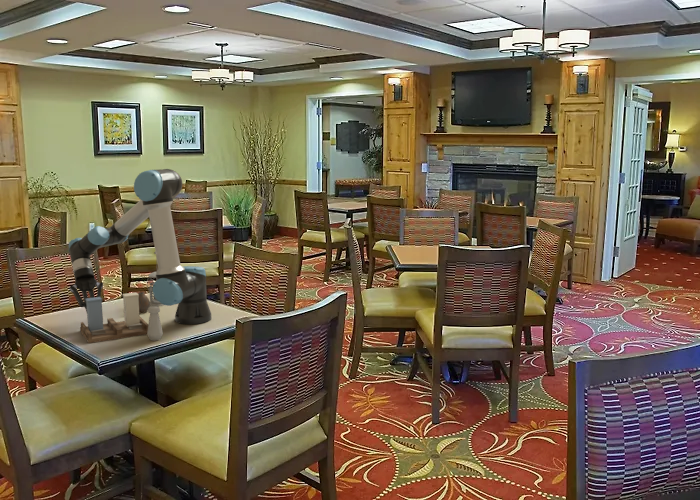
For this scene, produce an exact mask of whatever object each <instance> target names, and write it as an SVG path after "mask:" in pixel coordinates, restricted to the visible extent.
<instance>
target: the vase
mask: <svg viewBox="0 0 700 500" xmlns="http://www.w3.org/2000/svg"><path fill="white" fill-rule="evenodd" d="M137 294H139V297H138V299H139V314H143V313H147V312H148V308H149V307H150V298H149V297H148V296H147V295H146V294H145V292H143V291H140V292H137Z"/></svg>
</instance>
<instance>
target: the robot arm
mask: <svg viewBox="0 0 700 500" xmlns="http://www.w3.org/2000/svg"><path fill="white" fill-rule="evenodd" d="M182 188H183V180H182V176H181V175H180V174H179V173H178V172H177V171H176V170H173V169H170V168H164V169H162V168H161V169H149V170H144V171H142V172H140V173H139V174H137V176H136V178H135V179H134V183H133V192H134V194H135V195H136V197H137V198H138V199H139V201H137V202H136V203H135V204H134V205H133V206H132V207H131V208H130V209H128V211H127V212H125V213H124V214H123V215H122V216H121V217H120V218H119V219H117V220H116V221H115V222H114V223H113V224H112V225H111V226H110V227H106V228H105V227H104V226H101V225H97V226H94V227H93V228H92V229H90V230H88V232H87V233H86V234H85V235H84V236H83V237H76V238H74V239H71V240H70V241H69V242H68V253H69V256H70V262H71V265H72V270H73V271H72V272H73V276H74V284H73V285H70V287H69V292H71V293H72V294H73V295H74V298H75V300H76V301H77V303H78V305H79V307H80V308H84V309H85V312H86V313H87V305H86V300H85V299H86V298H94V297H95V294H94V289H95V287H96V288H97V293H96V295H97V296H96V297H101V296H102V289H103V287H104V283H103V282H98V280H97V279H96V278H95V277H96V276H95V273H94V267H93V265H92V264H93V263H92V259H91V255H93V254H94V253H95V252H96V251H98V249H101V248H105V247H109V246H113V245H117V244H118V245H119V244H122V243H124V242H126V241H127V240H128V239H129V236H130V234H131V233H132V232H133V231H134V230H136V229H137V228H138V227H139V226H140V225H141V224H142V223H143V222H145V221H146V220H147V219H148V218H149V223H150V228H151V233H152V239H153V244H154V245H153V246H154V250H155V251H156V254H155V256H156V257H157V262H156V263H157V270H156V271H157V272H156V271H155V272H156V280H155V281H154V282H155V283H154V285H153V286H152V288H153V292H152V293H153V294H154V295H153V294H152V295H153V296H154V297H155V298H156V299H157V301H159V302H160V303H161V304H163V306H167V307H168V306H174V305H177V307H176V311H175V315H174V321H175V322H176V323H178V324H183V325H199V324H205V323H207V322H210V320H212V311H211V308H210V307H209V304H208V299H207V298H208V297H207V273H206V269H205V268H204V267H202V266H189V265H187V266H183V265H181V260H180V255H179V249H178V244H177V238H176V231H175V228H174V221H173V216H172V210H171V205H172V204H173V203H174V199H175V198H176V197H177V196H178V195H179V194H180V193H181V191H182ZM155 251H154V252H155ZM78 290H79V291H81V294H82V296H81V295H80V293H79V291H78ZM87 292H88V293H87ZM88 294H89V297H88ZM154 297H153V298H154ZM82 298H83V299H82ZM101 298H102V297H101Z"/></svg>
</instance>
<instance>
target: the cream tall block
mask: <svg viewBox="0 0 700 500" xmlns="http://www.w3.org/2000/svg"><path fill="white" fill-rule="evenodd" d="M138 297H139V294H138V292H136V291H135V292H130V293H129V292H128V293H122V299H123V313H124V314H123V315H124V316H123V317H124V321H125V325H126V326H127V327H128V325H134V324H140V317H141V316H140V313H139V299H138ZM139 316H140V317H139Z"/></svg>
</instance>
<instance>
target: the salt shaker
mask: <svg viewBox="0 0 700 500" xmlns="http://www.w3.org/2000/svg"><path fill="white" fill-rule="evenodd" d="M160 311H161V309H160V306H150V307H149V308H148V311H147V312H148V313H149V317H148V324H149V325H148V331H147V334H146V335H147V337H148V339H149V340H150V341H152V342H154V341H159V340H161V339H162V337H163V335H164V334H163V332H164V331H163V328H162V323H161V319H160V315H159V313H160Z"/></svg>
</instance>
